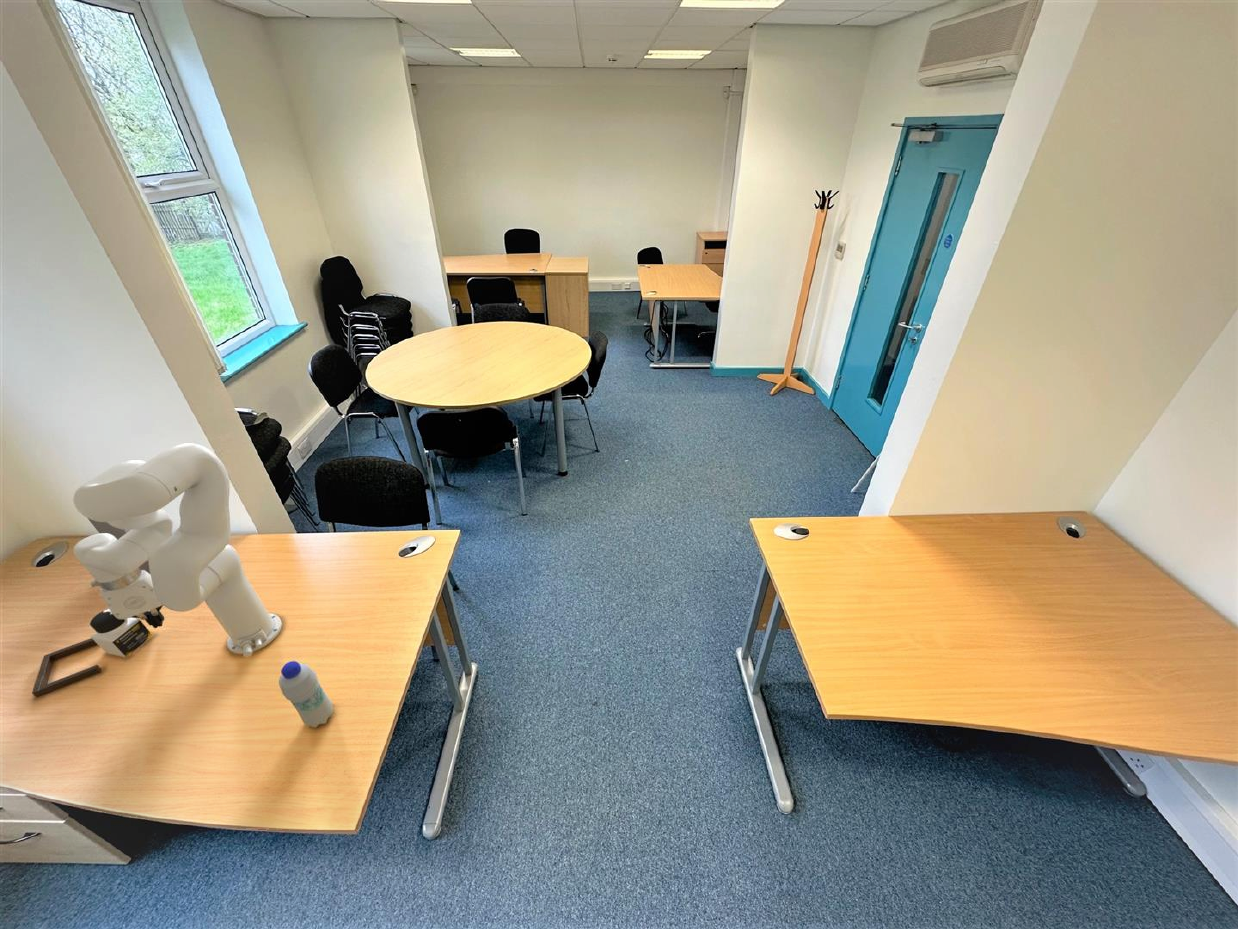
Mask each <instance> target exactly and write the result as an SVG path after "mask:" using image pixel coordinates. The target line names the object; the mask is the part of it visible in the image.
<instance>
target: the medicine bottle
mask: <svg viewBox="0 0 1238 929" xmlns="http://www.w3.org/2000/svg"><path fill="white" fill-rule="evenodd" d="M89 626H90V627H91V628H92V629H93V630H94V631H95V633H93V634H92V635H91V636H90V638H92V639H93V640H94V641H95V642H96V643H97V644H98V645H97V646H98V647H99V648H101V649H102V651H104V652H105V654H107V655H113V656H117V657H121V658H126V659H127V658H129V657H130V656H131V655H132V654H134V653H135V652H136V651H138V649H140V648H141V647H142V646H144V644H146V643H147V642H148V641H149V640H150V639H152V638H153V636H154V635H153V633H152V632H151V631H150V630H149V628H147V627H146V625H145V624H144V623H143V622H142V620H141V619H140V618H133V617H130V618H126V619H117V618H116V617H115V616H114V615H113V613H112V612H111V611H110V609H109V608H107V609H105V610H102V611H100V612H98V613H97V614H96V615H94V616H93V617H92V618H91V620H90V622H89Z"/></svg>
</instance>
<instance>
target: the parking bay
mask: <svg viewBox="0 0 1238 929" xmlns="http://www.w3.org/2000/svg"><path fill="white" fill-rule="evenodd" d="M96 646H99V645H98V644H97V643H96V642H95V641H94V640H93V639H92V638H91V637H90V638H88V639H85V640H83V641H79V642H77V643H74V644H72V645H68V646H66V647H63V648H61V649H57V650H55V651H53V652H50V653H47V654H45V655H43V657H42V661H41V664H40V666H39V670H38V673H37V676H36V679H35V682H34V686H33V687H32V688H33V689H32V691H31V694H32V695H33V696H34V697H36V699H38V698H40V697H43V696H46V695H48V694H51V693H53V692H56V691H58V690H61V689H63V688H66V687H68V686H71V685H73V684H76V683H78V682H80V681H83V680H86V679H88V678H91V677H94V676H96V675H99V674H101V673H102V670H103V669H102V668H101V667H100V666H99V665H98V664H94V665H92V666H90V667H87V668H85V669H83V670H80V671H77V672H74V673H72V674H69V675H67V676H65V677H62V678H59V679H57V680H54V681H52V682H49V679H50V676H51V673H52V669H53V666H54V663H55V661H58V660H61V659H63V658H66V657H69V656H71V655H74V654H77V653H79V652H82V651H84V650H87V649H90V648H92V647H96Z"/></svg>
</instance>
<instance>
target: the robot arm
mask: <svg viewBox="0 0 1238 929" xmlns="http://www.w3.org/2000/svg"><path fill="white" fill-rule="evenodd" d="M230 484H231V483H230V476H229V473H228V470H227V468H226V466H225V464H224V463H223V461H222V460H221V459H220V458H219V457H218V455H216V453H214V452H213V451H212V450H211V449H209V448H208V447H206V446H204V445H202V444H198V443H192V442H191V443H190V442H189V443H188V442H187V443H182V444H177V445H175V446H172V447H170V448H168V449H166V450H164V451H162V452H160V453H158V454H157V455H156V456H154V457H152V458H151V459H148V461H145V460H136V459H134V460H133V459H132V460H126V461H122V462H120V463H117V464H115V465H113V466H112V467H110V468H108V469H107V470H104V471H103V472H102V473H100V474H98V475H97V476H95V477H93V478H92V479H89V480H88V481H87V482H85V483H83V484H82V485H80V486H79V487H78V488H77V489H76V491H74V494H73V499H72V500H73V505H74V507H75V509H76V510H77V512H79V513H80V514H81V515H82V516H83V517H85V518H86V519H88V518H89V519H91V520H94V521H98V522H107V523H109V524H110V525H111V526H113V527H115V528H119V529H124V530H130V531H129V532H127V533H126V534H125V535H123V536H122V537H121V538H119V539H118V540H117V539H116V538H115V537H114V536H113V535H111V534H108V533H95V534H92V535H89V536H86V537H84V538H83V539H81V540H79V541H78V542H77V543H76V544H75V545H74V547H73V548H72V553H73V555H74V556H75V558H77V560H78V561H79V562H80V563H81V564H82V565H83V567H84V568H85V569H86V570H87V572H88V573H89V574H90V575H91V576H92V577H93V579H94V580H93V581H90V586H91V587H92V588H94V587H99V588H100V589H99V593H100V595H101V597H102V599H103V600H104V603H105V604H106V606H107V607H108V608H107V609H110V611H111V612H112V613H113V615H114V616H115V617H116V618H117V619H126V618H135V619H139V620H140V621H145V622H146V623H147V624H148V626H151V627H153V629H157V628H158V627H162V626H163V623H164V621H165V616H164V615H163V613H162V612H161V610H162V608H163V607H165V608H167V609H168V610H170V611H172V612H173V611H174V612H178V613H179V612H180V613H181V612H182V613H183V612H189V611H192V610H194V609H196V608H198V607H200V606H201V604H203V603H204V602H205V604H206V606H207V607H208V608H209V610H210V611H211V613H212V614H213V615H214V617H215V619H216V620H217V621H218V622H219V624H220V625H221V627H222V628H223V629H224V631H225V632H226V634H227V635H228V637H227V640H226V646H227V649H228V650H229V651H230V652H231V653H233V654H236V655H242V656H243V657H244V658H249V657H251V656H253V653H254V652H256V651H258V650H261V649H263V648H264V647H266V646H267V645H269V644H270V643H271V642H273V641H274V640H275V639H276V638H277V637H278V635H279V634H280V632H281V630H282V626H283V621H282V620H281V618H280V617H279V616H278V615H277V614H275V613H269V612H268V610H267V608H266V607H265V605H264V603H263V602H262V600H261V599H260V597H259V595H258V594H257V592H256V590H255V589H254V587H253V586H252V584H251V582H250V580H249V578H248V577H247V575H246V573H245V571H244V569H243V564H242V561H241V560H242V559H241V557H240V555H239V552H238V551H237V550H236V549H235V547H233V546H232V545H231V544H229V543H230V541H231V537H232V536H231V535H232V532H231V530H232V529H231V517H230V516H231V515H230V488H231V485H230ZM182 494H183V495H182ZM181 495H182V498H181V500H180V503H179V509H178V510H179V511H178V512H179V519H180V520H179V521H180V524H179V527H178V528H177V529H176V530H175V531H174V532H173V527H174V526H173V525H174V523H173V519H172V518H171V516H170V515H169V514H168V512H166V511H165V510H164V509H163V508H165V507H166V506H167V505H169V504H170V503H171V502H173V501H174V500H175V499H177V498H178V497H179V496H181ZM149 558H150V559H149ZM148 559H149V569H150V574H151V575H150V574H149V573H148V572H146V571H145V570H140V569H139V567H140V566H141V565H142V564H143V563H144V562H146V561H147V560H148Z"/></svg>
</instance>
